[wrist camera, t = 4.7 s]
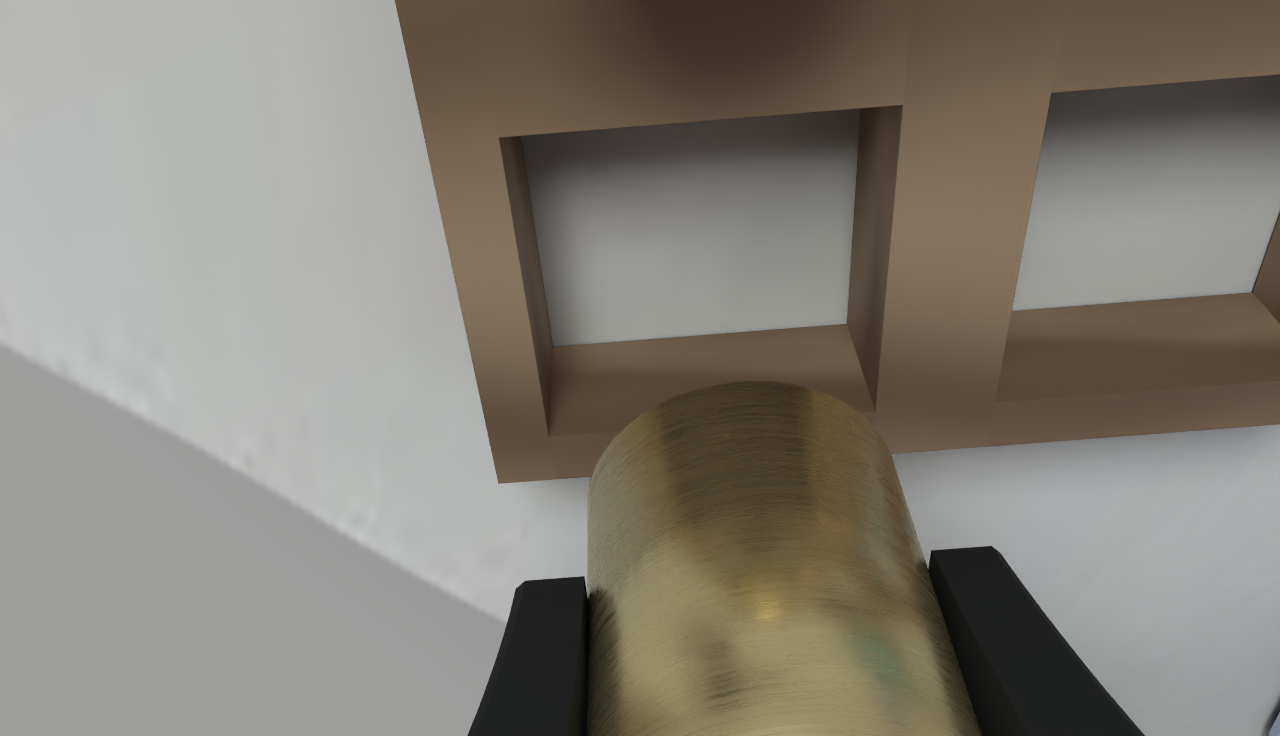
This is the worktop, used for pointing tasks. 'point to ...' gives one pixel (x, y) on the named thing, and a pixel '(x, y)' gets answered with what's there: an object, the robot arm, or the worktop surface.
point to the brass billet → (761, 577)
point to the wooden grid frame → (883, 215)
